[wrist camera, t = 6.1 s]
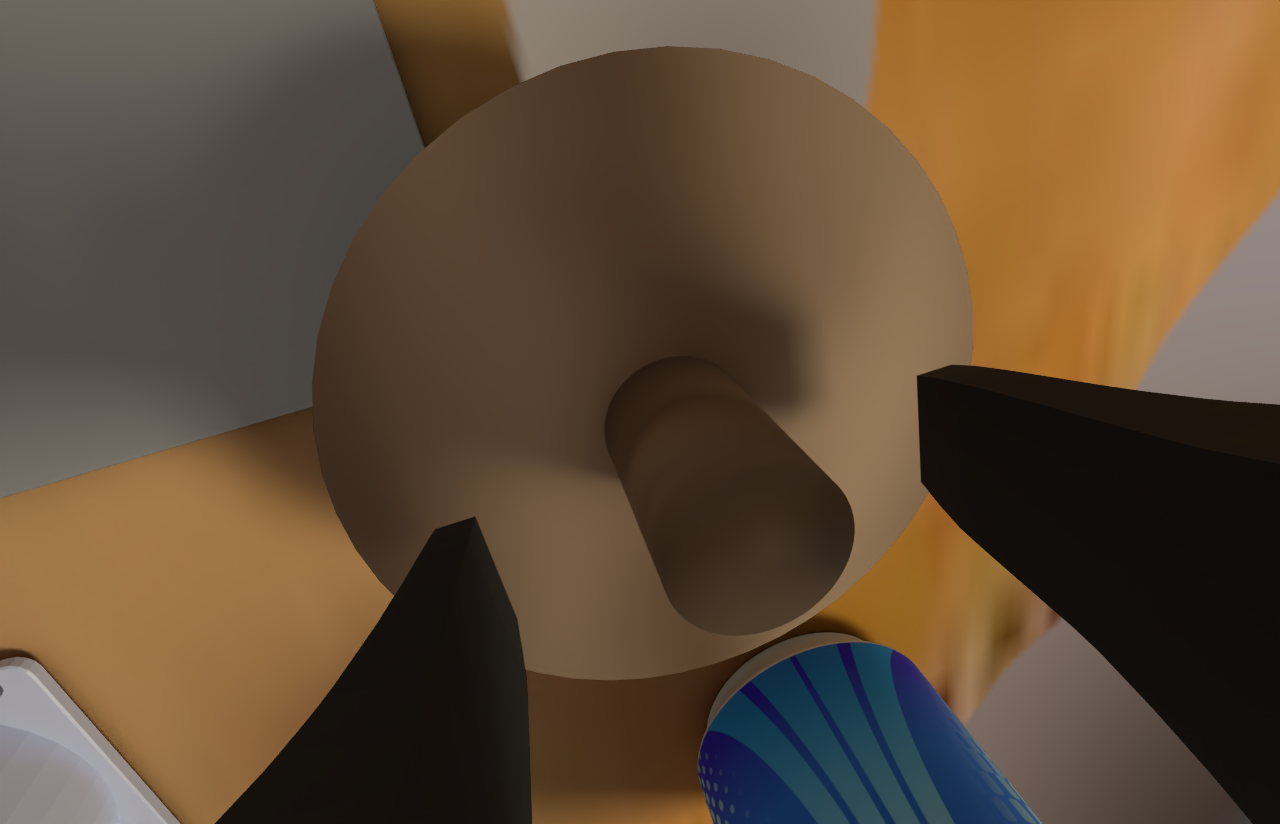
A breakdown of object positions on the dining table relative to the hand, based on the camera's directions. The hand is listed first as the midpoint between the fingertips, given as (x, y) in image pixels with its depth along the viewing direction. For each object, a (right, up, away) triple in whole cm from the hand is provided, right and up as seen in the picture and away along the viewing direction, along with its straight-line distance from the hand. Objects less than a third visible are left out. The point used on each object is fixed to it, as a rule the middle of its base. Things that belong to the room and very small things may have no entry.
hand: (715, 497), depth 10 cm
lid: (-1, +1, +2) cm, 3 cm away
